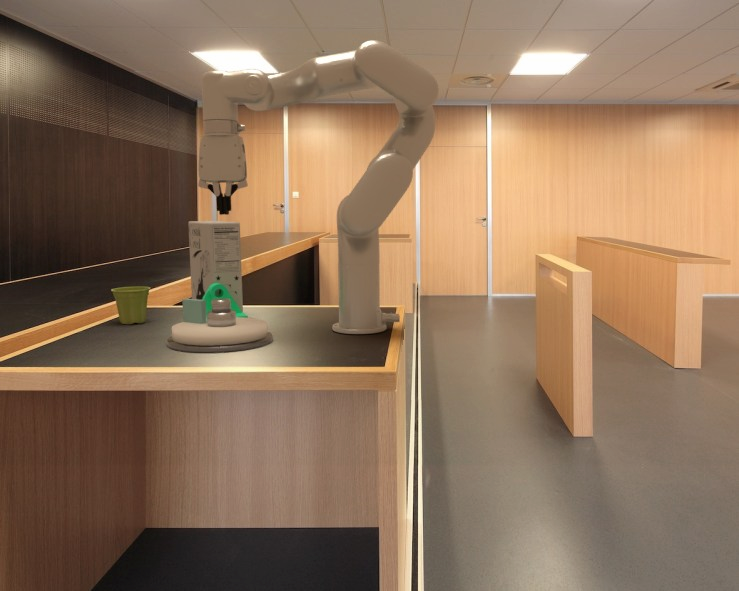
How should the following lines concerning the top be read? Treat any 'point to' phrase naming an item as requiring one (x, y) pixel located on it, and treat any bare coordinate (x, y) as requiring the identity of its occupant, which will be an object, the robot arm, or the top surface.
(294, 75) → the robot arm
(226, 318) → the cover
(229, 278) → the cereal box
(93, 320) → the top surface
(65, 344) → the top surface
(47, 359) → the top surface
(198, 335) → the turntable
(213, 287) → the camera mount
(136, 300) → the plant pot
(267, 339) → the turntable base
